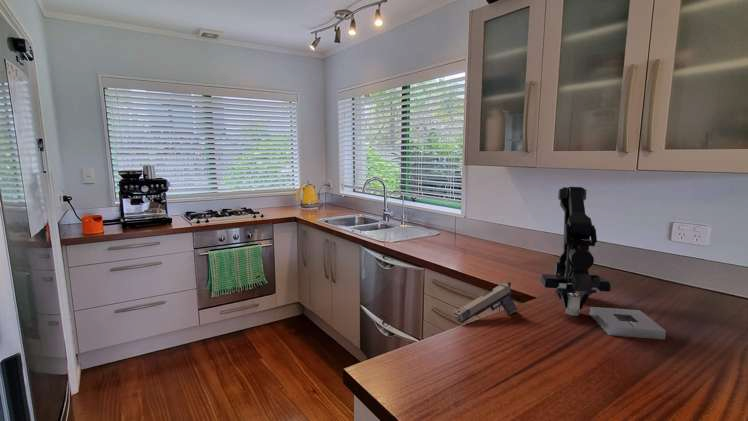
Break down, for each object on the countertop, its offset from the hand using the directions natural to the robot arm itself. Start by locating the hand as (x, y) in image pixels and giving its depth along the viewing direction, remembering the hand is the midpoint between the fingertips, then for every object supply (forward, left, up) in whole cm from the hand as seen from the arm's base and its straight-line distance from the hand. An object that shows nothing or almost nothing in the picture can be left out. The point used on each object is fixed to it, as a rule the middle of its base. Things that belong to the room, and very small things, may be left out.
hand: (572, 308), depth 119 cm
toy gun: (+8, -27, -2) cm, 28 cm away
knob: (0, 0, -2) cm, 2 cm away
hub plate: (+7, +12, -2) cm, 14 cm away
